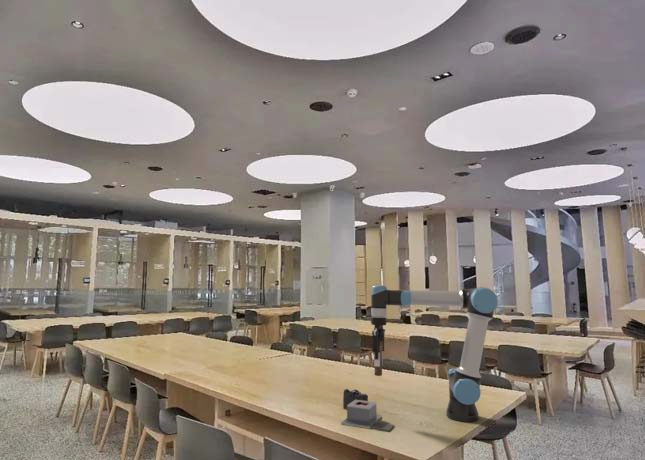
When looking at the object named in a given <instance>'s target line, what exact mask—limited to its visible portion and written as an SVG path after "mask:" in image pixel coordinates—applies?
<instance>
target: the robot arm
mask: <svg viewBox="0 0 645 460" xmlns="http://www.w3.org/2000/svg"><path fill="white" fill-rule="evenodd" d="M370 295H371V299H370V301H371V302H370V303H371V309H370V312H371V313H370V314H371V319H370V323H371V325H373V326H374V328H373V330H372V331H371V334H372V335H371V336H372V350H371V351H372V353H373V357H374V358H373V366H374V367H375V366H378V367H380V353H379V349H380V341H382V366H383V365H384V364H383V362H384V360H383V354H384V353H383V352H385V334H386V333H385V331H386V329H385V328H384V326H387V306H401V307H402V306H403V307H406V306H407V307H409V306H436V307H437V306H441V307H446V306H447V307H460V309H467V310H466V314H467V316H468V323H467V329H466V332H465V338H464V341H463V342H464V343H463V347H462V352H461V358H460V364H459V366H458V367H456V368H450V369H448V375H447V376H448V390H449V391H448V392H449V399H448V404H447V406H446V417H447V418H448V419H451V420H453V421H458V422H466V423H467V422H469V423H470V422H477V421H479V416H480V415H479V411H478V409H477V405H476V404H475V403H477V402H478V401H479V400H480V397H481V394H482V393H481V388H480V387H481V381H482V375H481V374H480V367H481V363H482V357H483V352H484V347H485V341H486V336H487V330H488V325H489V322H490V321H491V320H493V317H494V314H495V313H494V312H495V310H496V309H497V308H498V302H499V299H498V296H497V295H496V293H495V291H493V290H492V289H490V288H488V287H483V286H482V287H481V286H480V287H474V288H466V289H465V288H464V289H462V288H461V289H460V290H458V291H457V290H413V289H412V290H411V289H409V290H407V289H406V290H405V289H404V290H403V289H394V290H393V289H388V288H387V286H386V285H373V286H372V287H371V294H370Z"/></svg>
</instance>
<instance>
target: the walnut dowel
mask: <svg viewBox="0 0 645 460" xmlns="http://www.w3.org/2000/svg"><path fill="white" fill-rule="evenodd" d="M379 353H380V367H378V366H374V376H377V377H382V376H383V365H382V341H380V349H379Z"/></svg>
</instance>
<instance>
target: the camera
mask: <svg viewBox="0 0 645 460" xmlns="http://www.w3.org/2000/svg"><path fill="white" fill-rule="evenodd" d="M354 400H363V401H369V396H368V395H367V393H362V391H359V390H358V389H351V390H350V389H348V388H345V389H344V390H343V397H342V404H343V405H342V407H343V409H344V410H347V405H348V404H350V403H351V402H352V401H354Z"/></svg>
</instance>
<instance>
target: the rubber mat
mask: <svg viewBox="0 0 645 460" xmlns="http://www.w3.org/2000/svg"><path fill="white" fill-rule="evenodd" d="M394 427H395V424H391V423H382V422H379V421H377V422H376V423H375V424H374V425H373V426H372V427H371V429H372V430H375V431H382V432H389V433H390V432H391V431H392V430H393V428H394Z"/></svg>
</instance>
